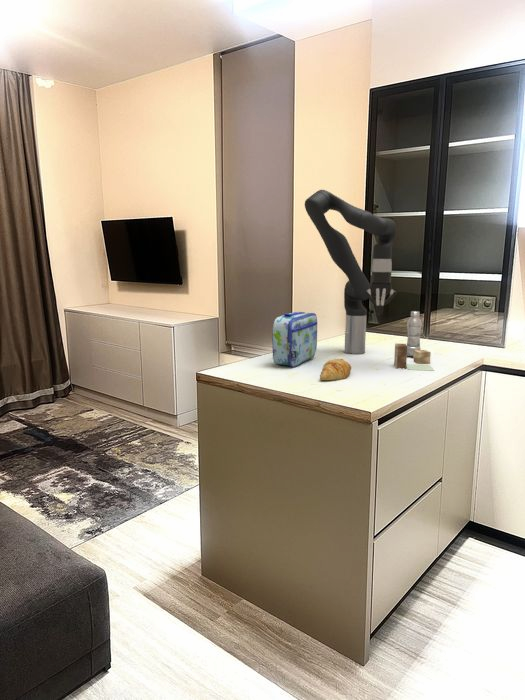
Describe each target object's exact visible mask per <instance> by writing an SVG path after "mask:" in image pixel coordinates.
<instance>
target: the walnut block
mask: <svg viewBox="0 0 525 700" xmlns="http://www.w3.org/2000/svg"><path fill="white" fill-rule="evenodd" d="M407 357H408V356H407V343H395V344H394V359H393V360H394V361H393V366H394V368H395V369H398V368H401V369H402V370H405V369H407V367H406V364H407V360H408V358H407ZM403 368H404V369H403Z"/></svg>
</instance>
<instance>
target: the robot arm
mask: <svg viewBox="0 0 525 700" xmlns="http://www.w3.org/2000/svg"><path fill="white" fill-rule="evenodd" d="M304 209H305V212H306V213H307V215H308V217H309V219H310V220H311V222H312V223H313V225H314V226H315V229H316V230H317V231H318V233H319V236H320V237H321V240H322V242H323V243H324V245H325V248H326V249H327V252H328V254H329V256H330V258H331V259H332V261H333V263H334V264H335V265H336V266H337V267H338V268H339V269H340V270H341V271H342V272H343V273H344V274H345V275H346V277H347V279H348V281H347V282H346V283H345V285H344V292H343V295H344V296H343V300H344V301H343V302H344V303H343V304H344V305H343V306H344V310H345V327H344V329H345V331H344V350H343V351H344V354H351V353H352V355H354V354H355V355H358V354H364V353H366V336H367V333H366V332H367V313H368V309H367V308H366V307H365V306H364V305H363V303H362V301H366V300H369V301H370V302H371V304H373V305H375V314H376V315H377V316H382V315H383V314H384V306H386V305H389V303H390V302H391V301H392V300H394V298H395V296H396V295H397V294H398V292H397V291H395V290H394V289H393V286H392V283H391V282H392V271H393V269H392V267H393V266H392V265H393V264H392V256H393V255H392V254H393V245H394V242H395V237H396V232H397V226H396V223H395V221H394V220H393V219H391V218H386V217H380V216H378V215H375V214H374V213H371V212H370V211H368V210H365V209H363V208H360V207H357V206H354V205H353V204H350V203H348V202H347V201H345V200H344V199H342V198H340V197H339V196H337V195H335V194H333V193H332V192H330V191H328V190H325V189H319V190H317V191H315V192H314V193H313V194H311V195H310V196H309V197H308V198H306V200H304ZM331 210H332V211H336V212H338V213H340V215H341V216H342V217H343V219H344V221H346V222H347V223H348V224H349V225H351V226H353V227H356V228H358V229H361V230H364V231H365V232H367V233H369V234H371V235H373V236H375V237H378V239H377V243H376V244H374V245H373V250H372V251H373V252H372V263H371V280H370V281H371V283H370V282H369V280H368V279H367V276H366V275H365V274H364V272H363V270H362V269H361V267H360V265H359V263H358V261H357V258H356V257H355V254H354V253H353V251H352V247H351V246H350V242H349V241H348V239H347V237H346V236H345V235H344V233H341V232H340V231H338V230H337V229H335V228H334V227H333V226H332V225H330V223H329V221H328V220H327V218H326V215H325V214H326V213H327V212H329V211H331ZM372 294H373V296H375V300H374V298H373V297H372V296H371V295H372ZM388 295H389V296H388ZM387 296H388V298H387V299H386V297H387Z"/></svg>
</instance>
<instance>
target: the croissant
mask: <svg viewBox="0 0 525 700" xmlns="http://www.w3.org/2000/svg"><path fill="white" fill-rule="evenodd" d="M351 370H352V366H351V364H350V363H348V362H347V361H346V360H345V359H343V358H334V359H330V360H328V361H326V362H325V363H324V364H323V366H322V369H321V371H320V374H319V378H320V380H321V381H338V380H339V381H340V380H345V378H347V377H348V376H349V375H350V373H351Z"/></svg>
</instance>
